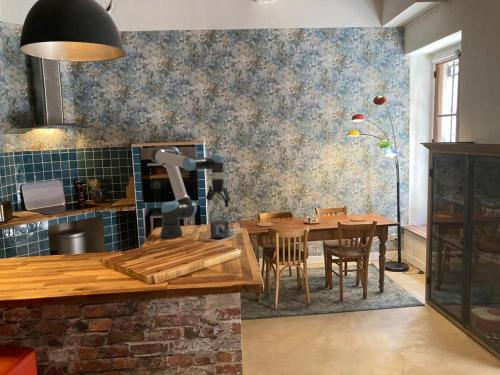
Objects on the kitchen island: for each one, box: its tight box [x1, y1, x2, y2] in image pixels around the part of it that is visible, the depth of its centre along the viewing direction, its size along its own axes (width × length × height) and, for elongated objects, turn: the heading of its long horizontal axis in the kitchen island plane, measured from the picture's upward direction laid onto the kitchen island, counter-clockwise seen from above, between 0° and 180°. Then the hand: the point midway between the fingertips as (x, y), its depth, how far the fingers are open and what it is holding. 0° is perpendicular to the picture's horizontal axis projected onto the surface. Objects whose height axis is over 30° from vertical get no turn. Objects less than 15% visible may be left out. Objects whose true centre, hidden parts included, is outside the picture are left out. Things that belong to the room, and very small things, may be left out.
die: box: [229, 228, 238, 237], centre depth 278 cm, size 4×4×4 cm
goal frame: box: [203, 235, 236, 243], centre depth 271 cm, size 13×16×1 cm
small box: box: [209, 220, 229, 240], centre depth 270 cm, size 11×6×10 cm, turn 73°
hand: (218, 210), depth 269 cm, fingers open, 13 cm apart
